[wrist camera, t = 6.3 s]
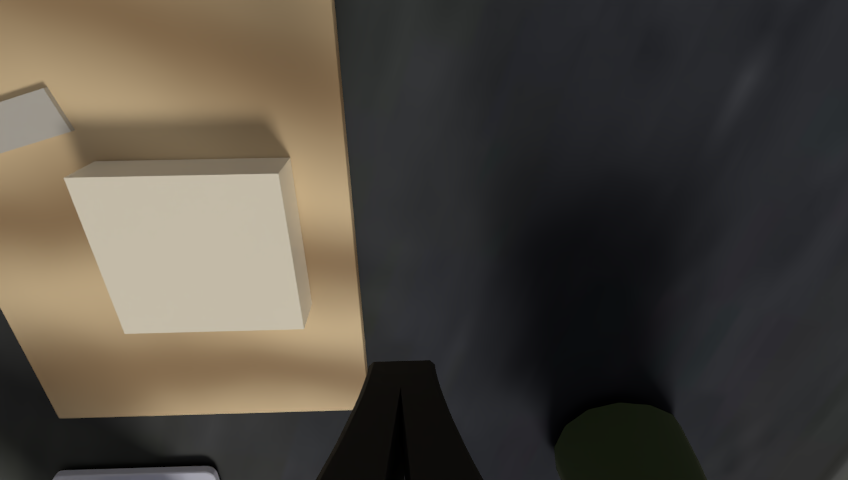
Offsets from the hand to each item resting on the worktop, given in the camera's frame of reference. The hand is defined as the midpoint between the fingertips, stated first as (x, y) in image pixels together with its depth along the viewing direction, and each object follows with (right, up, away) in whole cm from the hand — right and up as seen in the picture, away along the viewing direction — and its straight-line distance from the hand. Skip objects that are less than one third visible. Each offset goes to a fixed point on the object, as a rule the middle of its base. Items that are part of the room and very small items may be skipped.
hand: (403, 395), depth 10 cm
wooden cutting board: (-9, +4, +7) cm, 12 cm away
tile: (-4, +3, +6) cm, 8 cm away
